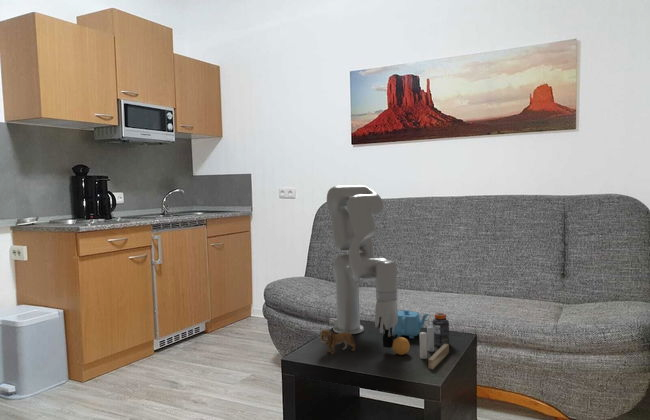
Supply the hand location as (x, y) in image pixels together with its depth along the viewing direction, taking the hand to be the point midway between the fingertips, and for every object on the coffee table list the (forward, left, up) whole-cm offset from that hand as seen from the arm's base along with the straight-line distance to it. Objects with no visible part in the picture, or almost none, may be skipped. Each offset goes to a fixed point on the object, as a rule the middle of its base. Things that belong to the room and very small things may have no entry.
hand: (388, 346), depth 169 cm
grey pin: (+13, +8, -2) cm, 16 cm away
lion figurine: (-16, -8, -2) cm, 18 cm away
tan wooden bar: (+18, 0, -2) cm, 18 cm away
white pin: (+13, 0, -2) cm, 13 cm away
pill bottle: (+14, +17, -2) cm, 22 cm away
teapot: (-1, +22, -2) cm, 23 cm away
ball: (+5, 0, +1) cm, 5 cm away
